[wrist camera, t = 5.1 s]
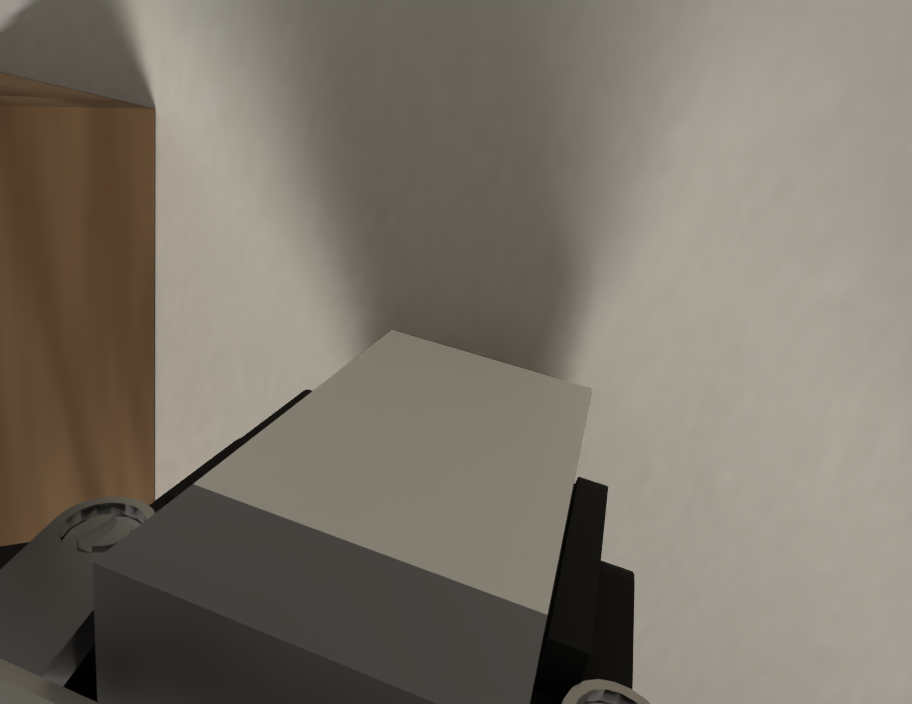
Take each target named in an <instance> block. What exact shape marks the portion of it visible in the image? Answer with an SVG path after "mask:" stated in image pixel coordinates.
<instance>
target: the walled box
mask: <svg viewBox="0 0 912 704" xmlns="http://www.w3.org/2000/svg"><path fill="white" fill-rule="evenodd" d="M154 382H155V109H152V108H148V107H144V106H139V105H135V104H131V103H127V102H122V101H118V100H114V99H110V98H105V97H101V96H97V95H93V94H88V93H84V92H80V91H76V90H71V89H67V88H63V87H58V86H54V85H50V84H46V83H41V82H37V81H33V80H29V79H24V78H20V77H16V76H12V75H7V74H3V73H0V546H6V545H13V544H19V543H26V542H30V541H31V540H32V539H33V538H35V537H36V536H37V535H38V534H39V533H40V532H41V531H42V530H43V529H44V528H45V527H46V526H47V525H48V524H49V523H50V522H52V521H53V520H54V519H55V518H56V517H57V516H58V515H60V514H61V513H63V512H64V511H65V510H67V509H68V508H70V507H73V506H75V505H77V504H79V503H82V502H84V501H88V500H93V499H97V498H103V497H126V498H132V499H135V500H139V501H142V502H144V503H145V504H147V505H148V506H149V505H150V504H152V503H153V502H154Z"/></svg>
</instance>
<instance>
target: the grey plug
mask: <svg viewBox="0 0 912 704" xmlns="http://www.w3.org/2000/svg"><path fill="white" fill-rule="evenodd" d="M591 394H592V389H591V388H588V387H584V386H581V385H577V384H574V383H571V382H567V381H564V380H560V379H557V378H554V377H550V376H547V375H543V374H540V373H537V372H533V371H530V370H526V369H523V368H520V367H516V366H513V365H510V364H506V363H503V362H499V361H496V360H493V359H489V358H486V357H482V356H479V355H476V354H472V353H469V352H465V351H462V350H459V349H455V348H452V347H448V346H445V345H442V344H438V343H435V342H431V341H428V340H425V339H421V338H418V337H415V336H411V335H408V334H404V333H401V332H398V331H394V330H391V331H390V332H388V333H387V334H386V335H385V336H383V337H382V338H381V339H379V340H378V341H377V342H375V343H374V344H373V345H372V346H370V347H369V348H368V349H366V350H365V351H364V352H363V353H361V354H360V355H359V356H357V357H356V358H355V359H354V360H352V361H351V362H350V363H348V364H347V365H346V366H345V367H343V368H342V369H341V370H339V371H338V372H337V373H335V374H334V375H333V376H332V377H330V378H329V379H328V380H326V381H325V382H324V383H323V384H321V385H320V386H319V387H317V388H316V389H315V390H314V391H312V392H311V393H310V394H308V395H307V396H306V397H305V398H303V399H302V400H301V401H299V402H298V403H297V404H296V405H294V406H293V407H292V408H290V409H289V410H288V411H286V412H285V413H284V414H283V415H281V416H280V417H279V418H277V419H276V420H275V421H274V422H272V423H271V424H270V425H268V426H267V427H266V428H265V429H263V430H262V431H261V432H259V433H258V434H257V435H256V436H254V437H253V438H252V439H250V440H249V441H248V442H246V443H245V444H244V445H243V446H241V447H240V448H239V449H237V450H236V451H235V452H234V453H232V454H231V455H230V456H228V457H227V458H226V459H225V460H223V461H222V462H221V463H219V464H218V465H217V466H216V467H214V468H213V469H212V470H210V471H209V472H208V473H207V474H205V475H204V476H203V477H201V478H200V479H199V480H197V481H196V482H195V483H194V484H192V485H191V486H190V487H188V488H187V489H186V490H185V491H183V492H182V493H181V494H179V495H178V496H177V497H176V498H174V499H173V500H172V501H170V502H169V503H168V504H167V505H165V506H164V507H163V508H161V509H160V510H159V511H158V512H156V513H155V514H154V515H152V516H151V517H150V518H148V519H147V520H146V521H145V522H143V523H142V524H141V525H139V526H138V527H137V528H136V529H134V530H133V531H132V532H130V533H129V534H128V535H127V536H125V537H124V538H123V539H121V540H120V541H119V542H118V543H116V544H115V545H114V546H112V547H111V548H110V549H108V550H107V551H106V552H105V553H103V554H102V555H101V556H99V557H98V558H97V559H96V560H94V561H93V562H92V566H93V594H94V623H95V651H96V680H97V703H100V704H530V700H531V695H532V690H533V685H534V680H535V675H536V670H537V665H538V660H539V655H540V650H541V645H542V640H543V635H544V630H545V625H546V620H547V615H548V610H549V605H550V600H551V595H552V590H553V585H554V580H555V575H556V570H557V565H558V560H559V555H560V550H561V545H562V540H563V535H564V529H565V524H566V519H567V514H568V509H569V504H570V499H571V494H572V489H573V484H574V479H575V474H576V469H577V464H578V459H579V454H580V449H581V444H582V439H583V434H584V429H585V424H586V419H587V414H588V409H589V404H590V399H591Z"/></svg>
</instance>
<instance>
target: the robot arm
mask: <svg viewBox="0 0 912 704" xmlns="http://www.w3.org/2000/svg"><path fill="white" fill-rule="evenodd" d="M311 392H312V391H311V390H305V391H303V392H302V393H300V394H299V395H298V396H296V397H295V398H294V399H292V400H291V401H290V402H288V403H287V404H286V405H284V406H283V407H282V408H280V409H279V410H278V411H276V412H275V413H274V414H272V415H271V416H270V417H268V418H267V419H266V420H264V421H263V422H262V423H260V424H259V425H258V426H257V427H255V428H254V429H253V430H251V431H250V432H249V433H247V434H246V435H245V436H243V437H242V438H240V439H238V440H236V441H234V442H233V443H232V444H230V445H229V446H228V447H226V448H225V449H224V450H222V451H221V452H220V453H218V454H217V455H216V456H214V457H213V458H212V459H210V460H209V461H208V462H206V463H205V464H204V465H202V466H201V467H200V468H198V469H197V470H196V471H194V472H193V473H192V474H190V475H189V476H188V477H186V478H185V479H184V480H182V481H181V482H180V483H178V484H177V485H176V486H174V487H173V488H172V489H170V490H169V491H168V492H166V493H165V494H164V495H162V496H161V497H160V498H158V499H157V500H156V501H154V502H153V503H152V504H150V505H149V506H148V505H147V504H145V503H144V502H142V501H139V500H135V499H132V498H126V497H103V498H97V499H93V500H88V501H84V502H82V503H79V504H77V505H75V506H73V507H70V508H68V509H67V510H65V511H64V512H63V513H61V514H60V515H58V516H57V517H56V518H55V519H54V520H53V521H52V522H50V523H49V524H48V525H47V526H46V527H45V528H44V529H43V530H42V531H41V532H40V533H39V534H38V535H37V536H36V537H35V538H33V539H32V540H31V541H30V542H26V543H19V544H13V545H6V546H0V704H100V703H97V680H96V651H95V623H94V594H93V566H92V562H93V561H94V560H96V559H97V558H98V557H99V556H101V555H102V554H103V553H105V552H106V551H107V550H108V549H110V548H111V547H112V546H114V545H115V544H116V543H118V542H119V541H120V540H121V539H123V538H124V537H125V536H127V535H128V534H129V533H130V532H132V531H133V530H134V529H136V528H137V527H138V526H139V525H141V524H142V523H143V522H145V521H146V520H147V519H148V518H150V517H151V516H152V515H154V514H155V513H156V512H158V511H159V510H160V509H161V508H163V507H164V506H165V505H167V504H168V503H169V502H170V501H172V500H173V499H174V498H176V497H177V496H178V495H179V494H181V493H182V492H183V491H185V490H186V489H187V488H188V487H190V486H191V485H192V484H194V483H195V482H196V481H197V480H199V479H200V478H201V477H203V476H204V475H205V474H207V473H208V472H209V471H210V470H212V469H213V468H214V467H216V466H217V465H218V464H219V463H221V462H222V461H223V460H225V459H226V458H227V457H228V456H230V455H231V454H232V453H234V452H235V451H236V450H237V449H239V448H240V447H241V446H243V445H244V444H245V443H246V442H248V441H249V440H250V439H252V438H253V437H254V436H256V435H257V434H258V433H259V432H261V431H262V430H263V429H265V428H266V427H267V426H268V425H270V424H271V423H272V422H274V421H275V420H276V419H277V418H279V417H280V416H281V415H283V414H284V413H285V412H286V411H288V410H289V409H290V408H292V407H293V406H294V405H296V404H297V403H298V402H299V401H301V400H302V399H303V398H305V397H306V396H307V395H308V394H310V393H311ZM607 492H608V486H605V485H602V484H599V483H596V482H593V481H590V480H587V479H584V478H581V477H578V478H577V481H576V484H573V489H572V494H571V499H570V504H569V509H568V514H567V519H566V524H565V529H564V535H563V540H562V545H561V550H560V555H559V560H558V565H557V570H556V575H555V580H554V585H553V590H552V595H551V600H550V605H549V610H548V615H547V620H546V625H545V630H544V635H543V640H542V645H541V650H540V655H539V660H538V665H537V670H536V675H535V680H534V685H533V690H532V695H531V700H530V704H650V703H649V702H648V701H647V700H646V699H644V698H643V697H642V696H640V695H639V694H637V693H636V692H635V691H633V690H632V681H633V629H634V573H633V572H632V571H629V570H626V569H624V568H621V567H618V566H615V565H612V564H609V563H606V562H603V561H601V552H602V542H603V532H604V522H605V512H606V502H607Z"/></svg>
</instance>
